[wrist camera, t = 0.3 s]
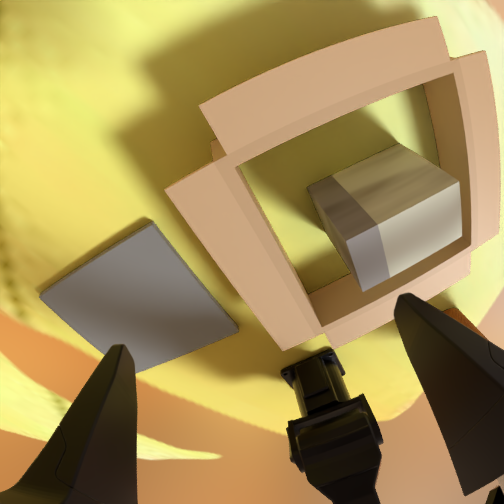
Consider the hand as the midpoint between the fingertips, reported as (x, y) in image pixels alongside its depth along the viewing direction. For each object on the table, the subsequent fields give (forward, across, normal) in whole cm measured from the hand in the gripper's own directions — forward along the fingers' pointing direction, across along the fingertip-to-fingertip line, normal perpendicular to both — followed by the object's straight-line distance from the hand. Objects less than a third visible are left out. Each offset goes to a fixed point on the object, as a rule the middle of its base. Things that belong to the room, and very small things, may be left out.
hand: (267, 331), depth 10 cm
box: (+14, -10, +2) cm, 17 cm away
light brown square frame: (+14, -10, +2) cm, 17 cm away
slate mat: (+14, +9, +11) cm, 20 cm away
